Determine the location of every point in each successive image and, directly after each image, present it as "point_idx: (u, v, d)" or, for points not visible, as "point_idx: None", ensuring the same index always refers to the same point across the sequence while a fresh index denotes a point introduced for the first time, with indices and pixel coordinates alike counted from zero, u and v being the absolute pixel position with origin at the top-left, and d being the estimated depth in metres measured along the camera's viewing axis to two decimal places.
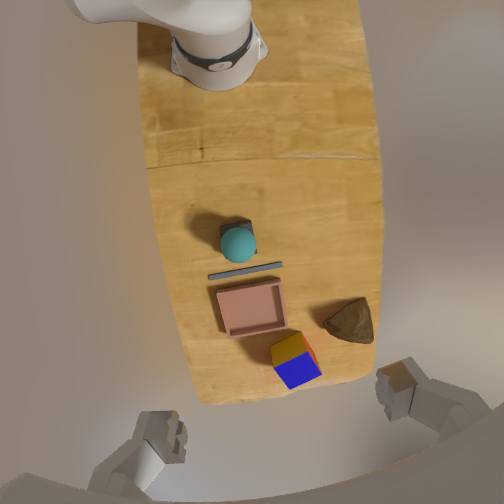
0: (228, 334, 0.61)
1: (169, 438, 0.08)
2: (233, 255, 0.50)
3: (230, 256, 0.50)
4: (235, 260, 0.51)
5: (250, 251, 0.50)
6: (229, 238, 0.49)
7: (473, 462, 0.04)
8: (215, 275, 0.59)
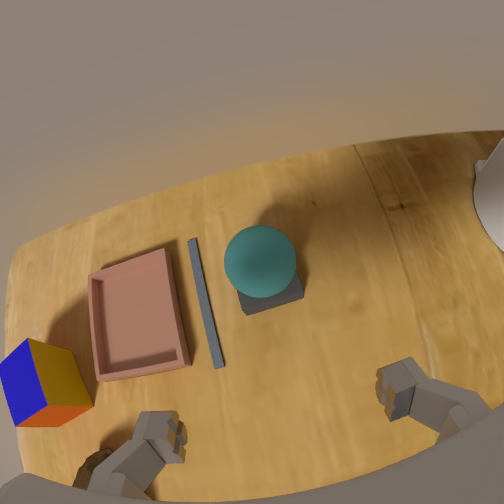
0: (94, 274, 0.32)
1: (169, 438, 0.08)
2: (242, 240, 0.24)
3: (240, 236, 0.24)
4: (231, 248, 0.24)
5: (252, 276, 0.23)
6: (275, 231, 0.24)
7: (473, 462, 0.04)
8: (195, 249, 0.33)
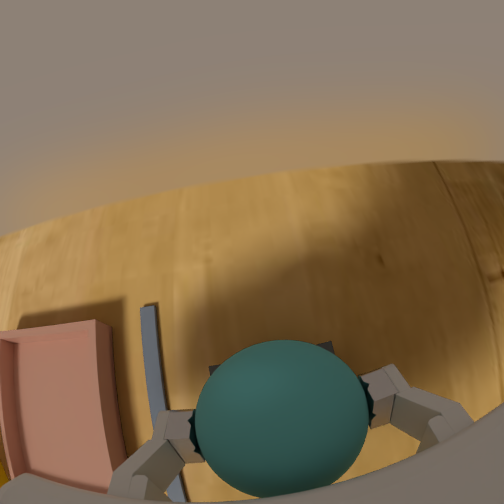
0: (3, 334, 0.15)
1: (191, 437, 0.08)
2: (246, 408, 0.07)
3: (239, 390, 0.08)
4: (211, 413, 0.08)
5: (263, 490, 0.06)
6: (338, 378, 0.08)
7: (473, 462, 0.04)
8: (153, 326, 0.17)
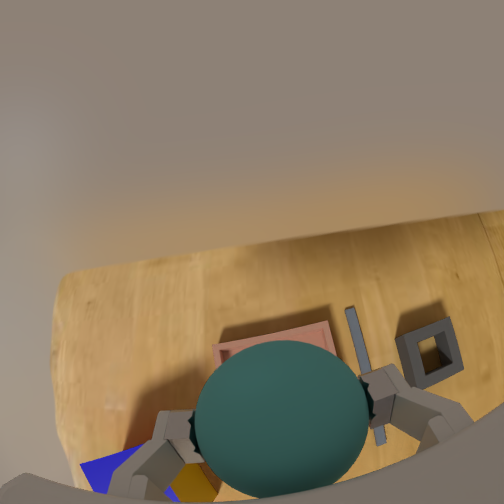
0: (223, 345, 0.26)
1: (191, 437, 0.08)
2: (246, 409, 0.07)
3: (239, 390, 0.08)
4: (211, 413, 0.08)
5: (263, 491, 0.06)
6: (338, 378, 0.08)
7: (473, 462, 0.04)
8: (355, 320, 0.28)
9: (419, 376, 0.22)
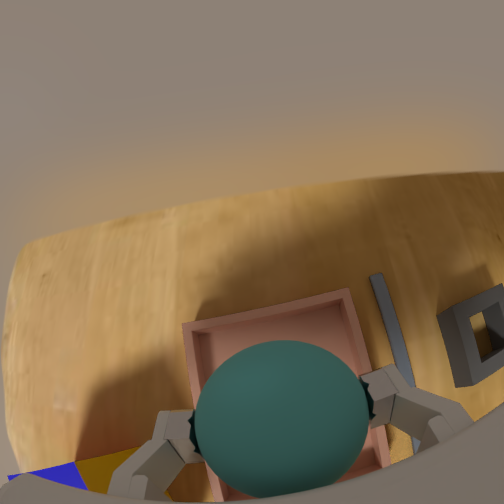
0: (198, 324, 0.18)
1: (191, 437, 0.08)
2: (246, 409, 0.07)
3: (239, 390, 0.08)
4: (211, 413, 0.08)
5: (263, 491, 0.06)
6: (338, 378, 0.08)
7: (473, 462, 0.04)
8: (385, 290, 0.20)
9: (474, 364, 0.14)
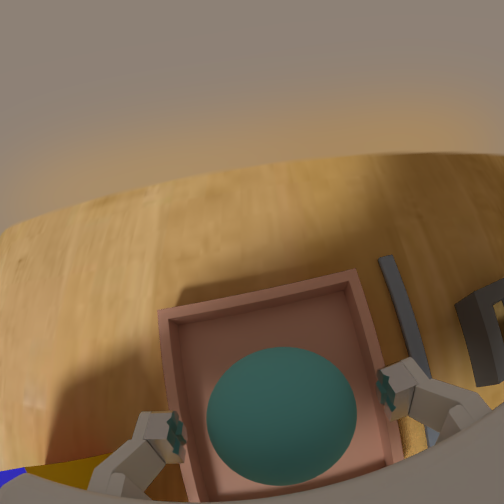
0: (176, 311, 0.15)
1: (169, 438, 0.08)
2: (251, 406, 0.09)
3: (245, 390, 0.09)
4: (222, 410, 0.09)
5: (265, 476, 0.08)
6: (329, 380, 0.09)
7: (473, 462, 0.04)
8: (396, 274, 0.17)
9: (499, 359, 0.11)
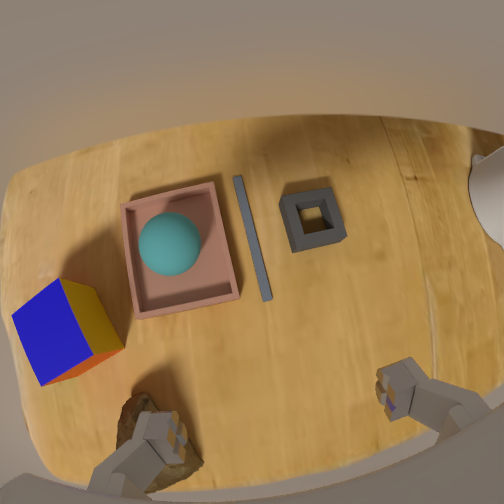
0: (129, 203, 0.31)
1: (169, 438, 0.08)
2: (151, 229, 0.26)
3: (150, 224, 0.26)
4: (142, 234, 0.26)
5: (157, 261, 0.26)
6: (181, 221, 0.27)
7: (473, 462, 0.04)
8: (241, 185, 0.34)
9: (297, 234, 0.31)
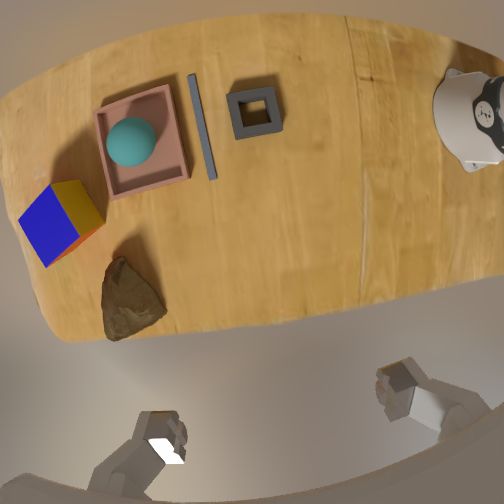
0: (99, 110, 0.32)
1: (169, 438, 0.08)
2: (113, 136, 0.29)
3: (112, 132, 0.29)
4: (108, 139, 0.30)
5: (119, 159, 0.30)
6: (136, 126, 0.29)
7: (473, 462, 0.04)
8: (194, 83, 0.33)
9: (237, 127, 0.33)
